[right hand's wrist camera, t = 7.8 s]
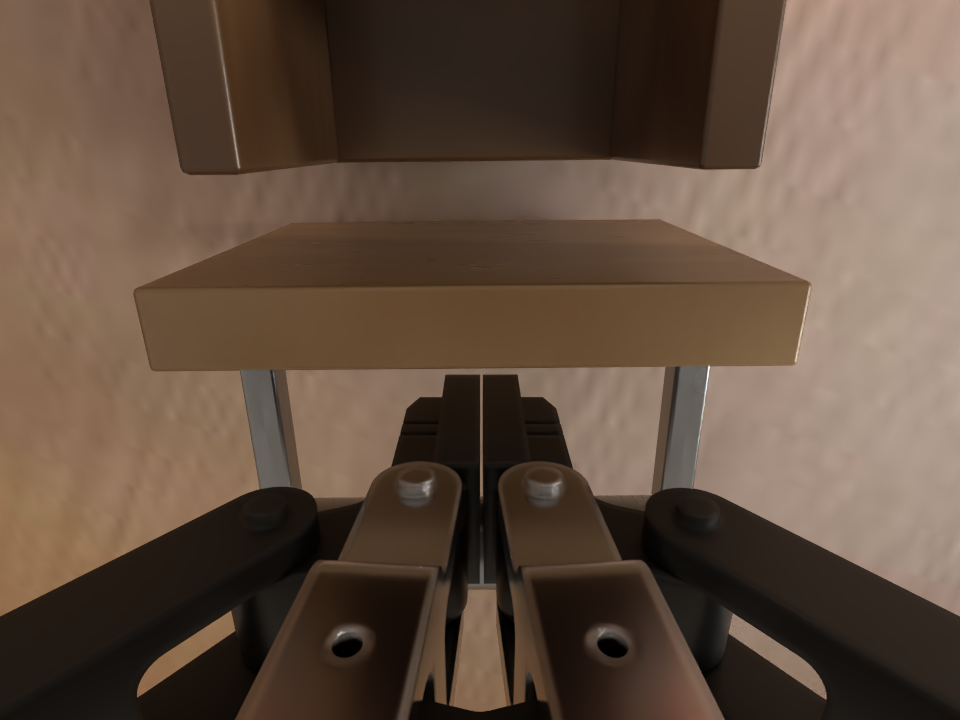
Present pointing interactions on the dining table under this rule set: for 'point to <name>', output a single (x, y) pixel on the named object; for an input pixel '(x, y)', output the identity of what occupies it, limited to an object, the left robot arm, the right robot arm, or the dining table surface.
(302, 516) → the right robot arm
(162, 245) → the dining table surface
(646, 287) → the drawer
